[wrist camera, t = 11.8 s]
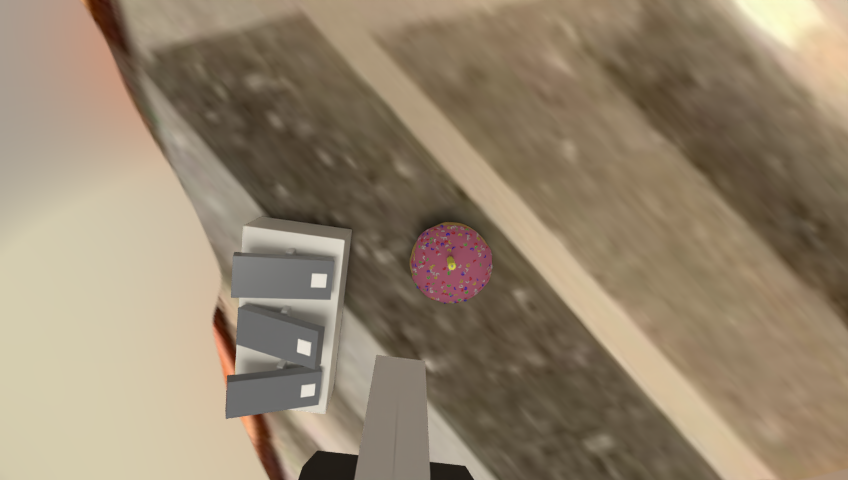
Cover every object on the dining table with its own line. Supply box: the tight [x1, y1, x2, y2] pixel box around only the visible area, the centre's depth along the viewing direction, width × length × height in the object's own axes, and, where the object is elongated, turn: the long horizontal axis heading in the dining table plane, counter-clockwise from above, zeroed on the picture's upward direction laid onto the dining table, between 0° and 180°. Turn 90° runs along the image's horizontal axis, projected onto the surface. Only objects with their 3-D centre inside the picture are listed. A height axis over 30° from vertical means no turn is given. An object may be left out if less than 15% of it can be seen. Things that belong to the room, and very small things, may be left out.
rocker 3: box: [226, 366, 322, 419], centre depth 43 cm, size 4×9×1 cm, turn 81°
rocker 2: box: [236, 304, 325, 370], centre depth 42 cm, size 4×9×1 cm, turn 81°
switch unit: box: [235, 217, 352, 414], centre depth 46 cm, size 20×10×6 cm, turn 171°
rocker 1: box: [231, 252, 335, 300], centre depth 40 cm, size 4×9×1 cm, turn 81°
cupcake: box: [410, 222, 493, 304], centre depth 42 cm, size 9×8×12 cm
